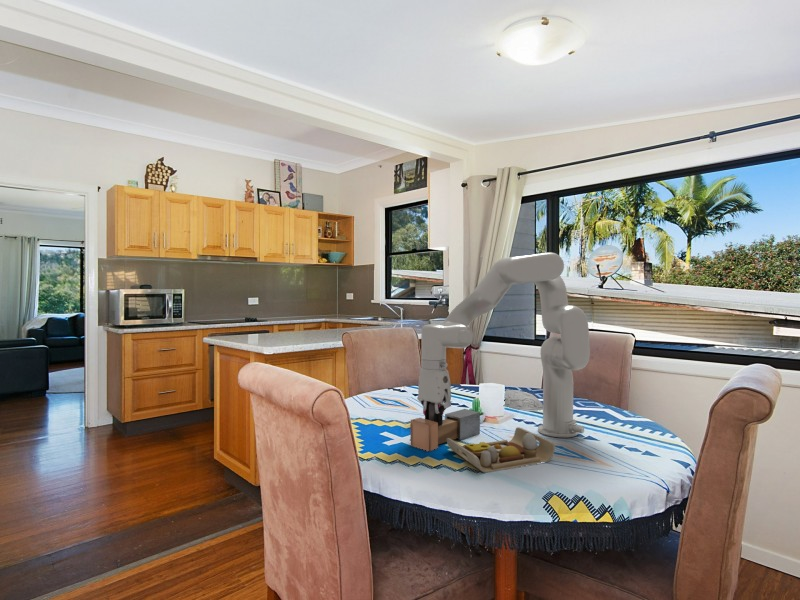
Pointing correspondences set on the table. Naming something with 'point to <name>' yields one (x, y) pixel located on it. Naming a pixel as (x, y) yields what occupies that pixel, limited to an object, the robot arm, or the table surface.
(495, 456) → the toy food set
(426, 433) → the brown block
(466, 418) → the sleeve
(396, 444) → the table surface
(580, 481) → the table surface
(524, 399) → the grey carved stone
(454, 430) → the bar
